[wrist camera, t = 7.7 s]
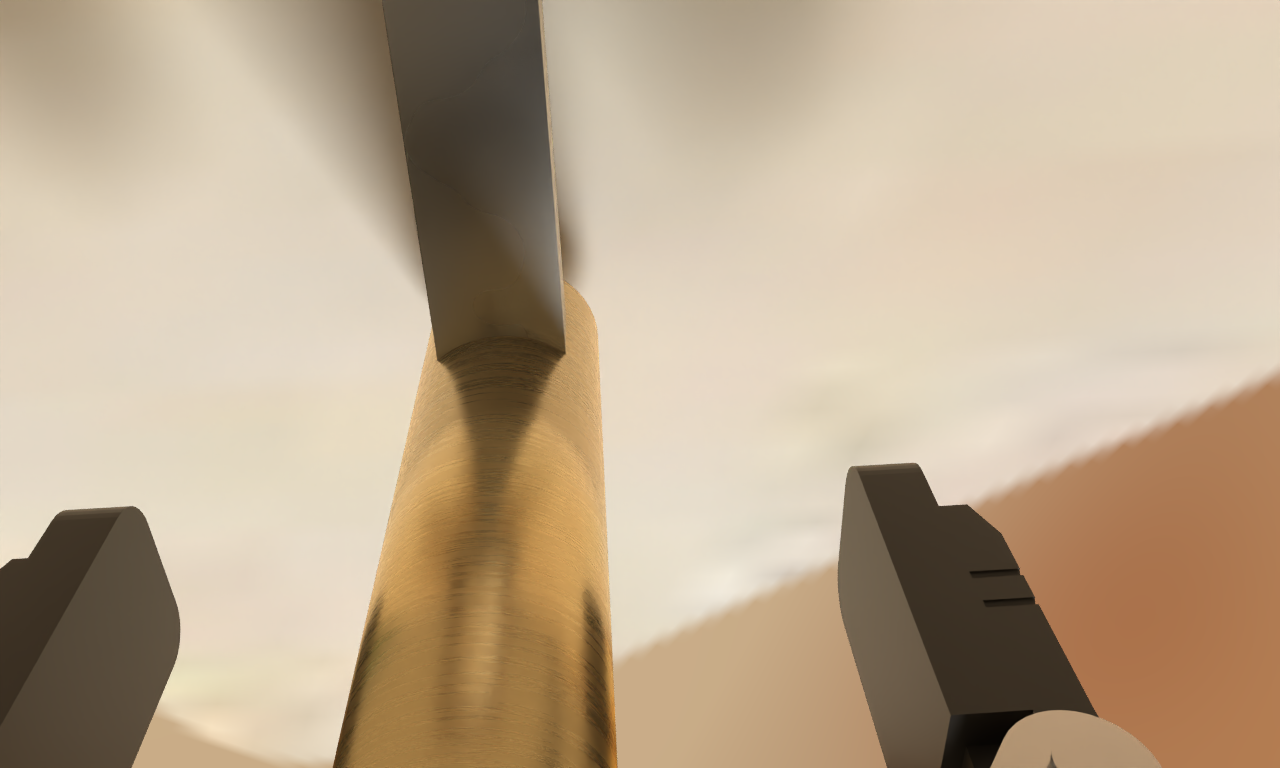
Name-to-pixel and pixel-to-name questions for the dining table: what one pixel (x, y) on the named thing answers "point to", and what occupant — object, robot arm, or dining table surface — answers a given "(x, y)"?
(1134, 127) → the dining table surface
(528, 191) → the lever handle
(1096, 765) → the robot arm
